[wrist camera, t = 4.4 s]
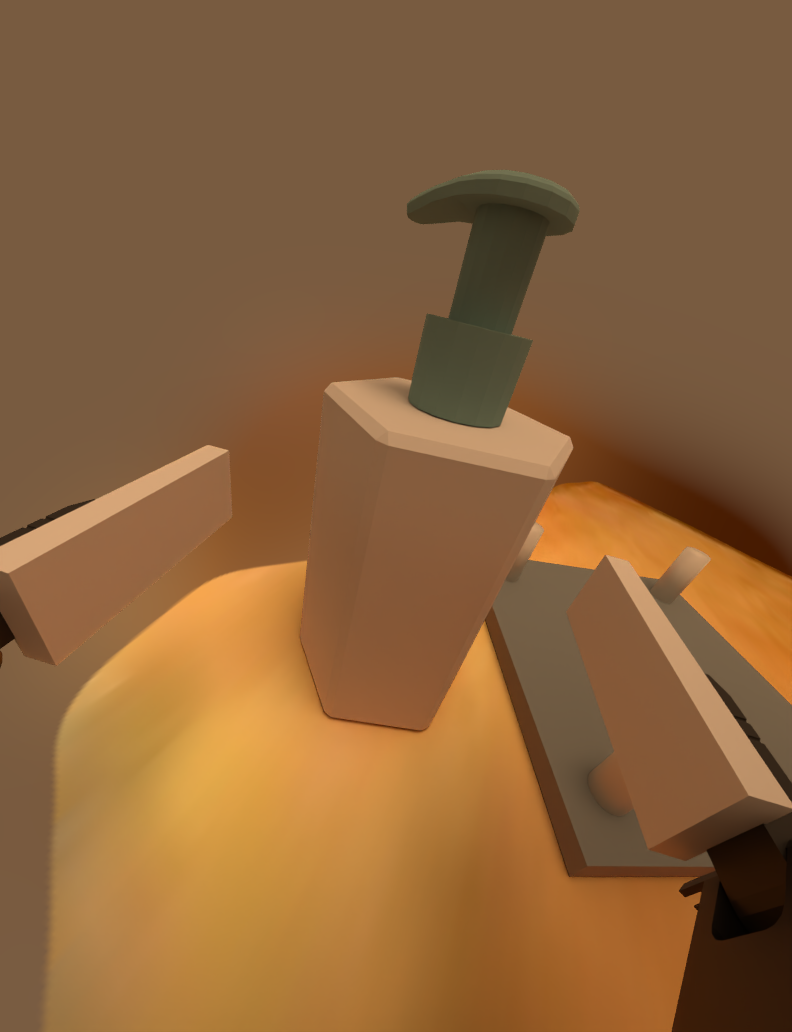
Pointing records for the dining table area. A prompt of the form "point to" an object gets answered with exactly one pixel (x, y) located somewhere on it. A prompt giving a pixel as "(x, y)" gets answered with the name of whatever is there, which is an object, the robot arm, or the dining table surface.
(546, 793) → the plate
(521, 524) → the soap bottle
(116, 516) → the robot arm
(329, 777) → the dining table surface
